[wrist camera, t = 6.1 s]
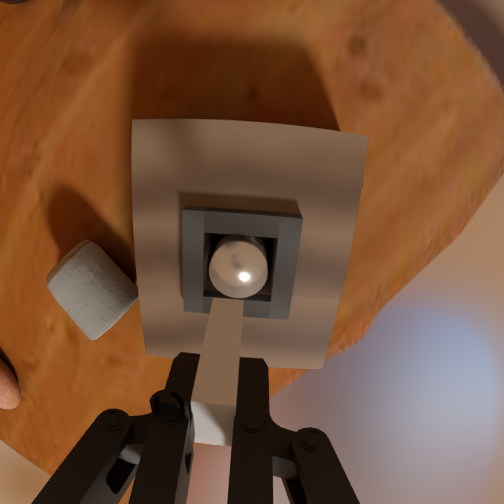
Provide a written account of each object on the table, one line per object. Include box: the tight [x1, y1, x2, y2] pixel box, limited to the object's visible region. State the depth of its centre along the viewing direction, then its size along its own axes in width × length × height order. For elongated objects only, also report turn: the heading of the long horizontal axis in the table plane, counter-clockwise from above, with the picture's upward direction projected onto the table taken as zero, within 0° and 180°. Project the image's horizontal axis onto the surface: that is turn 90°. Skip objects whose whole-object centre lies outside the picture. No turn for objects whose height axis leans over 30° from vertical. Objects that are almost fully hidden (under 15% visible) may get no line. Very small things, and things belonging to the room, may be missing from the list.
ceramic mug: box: [46, 240, 139, 340], centre depth 30 cm, size 11×8×8 cm
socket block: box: [131, 119, 368, 369], centre depth 27 cm, size 20×16×9 cm
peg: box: [209, 234, 268, 298], centre depth 26 cm, size 4×4×8 cm
